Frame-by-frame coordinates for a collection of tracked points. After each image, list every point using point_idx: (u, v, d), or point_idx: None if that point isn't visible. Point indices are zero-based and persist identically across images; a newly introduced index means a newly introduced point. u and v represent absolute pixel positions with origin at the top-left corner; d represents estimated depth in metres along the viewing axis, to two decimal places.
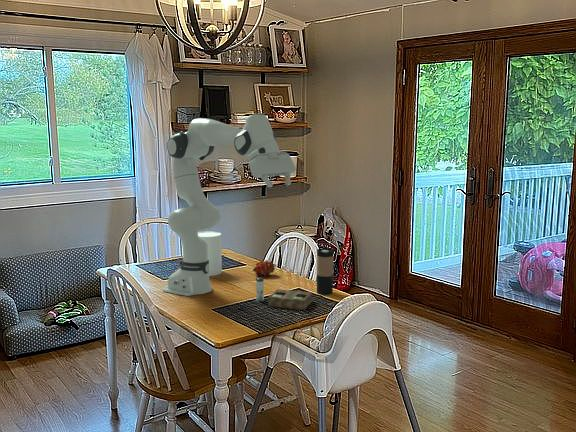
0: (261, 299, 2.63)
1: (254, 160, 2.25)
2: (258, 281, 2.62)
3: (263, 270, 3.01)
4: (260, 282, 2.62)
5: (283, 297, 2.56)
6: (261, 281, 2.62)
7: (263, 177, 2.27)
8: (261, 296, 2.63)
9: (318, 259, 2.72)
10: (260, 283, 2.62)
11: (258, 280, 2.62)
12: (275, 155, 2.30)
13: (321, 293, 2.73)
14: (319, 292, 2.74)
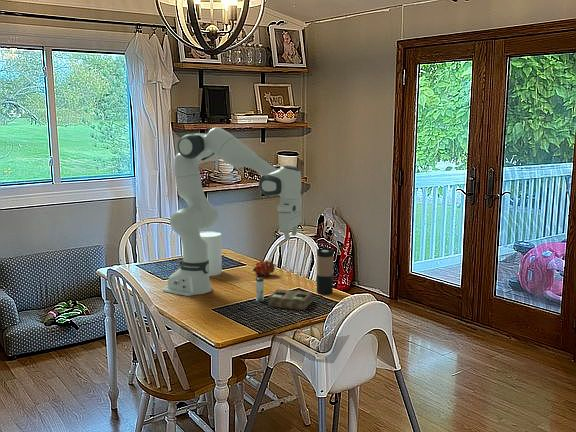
0: (261, 299, 2.63)
1: (286, 216, 2.44)
2: (258, 281, 2.62)
3: (263, 270, 3.01)
4: (260, 282, 2.62)
5: (283, 297, 2.56)
6: (261, 281, 2.62)
7: (285, 231, 2.49)
8: (261, 296, 2.63)
9: (318, 259, 2.72)
10: (260, 283, 2.62)
11: (258, 280, 2.62)
12: (298, 211, 2.53)
13: (321, 293, 2.73)
14: (319, 292, 2.74)
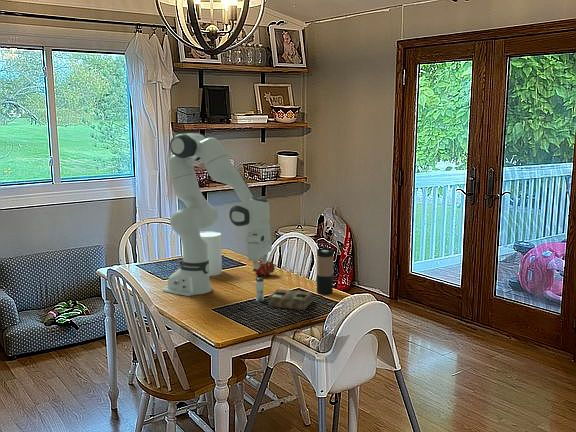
0: (261, 299, 2.63)
1: (255, 247, 2.51)
2: (258, 281, 2.62)
3: (263, 270, 3.01)
4: (260, 282, 2.62)
5: (283, 297, 2.56)
6: (261, 281, 2.62)
7: (254, 260, 2.55)
8: (261, 296, 2.63)
9: (318, 259, 2.72)
10: (260, 283, 2.62)
11: (258, 280, 2.62)
12: (267, 241, 2.59)
13: (321, 293, 2.73)
14: (319, 292, 2.74)
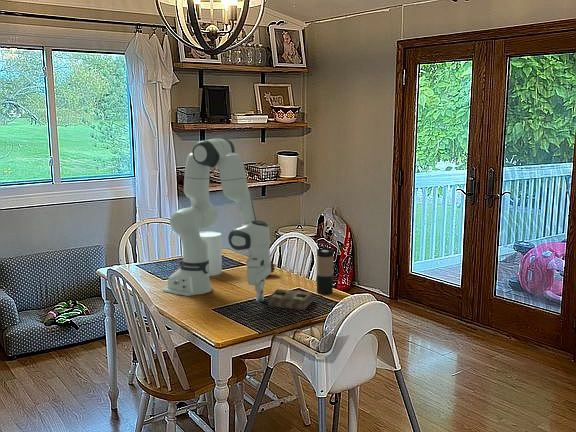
0: (261, 299, 2.63)
1: (254, 271, 2.53)
2: None
3: None
4: (260, 282, 2.62)
5: (283, 297, 2.56)
6: (261, 281, 2.62)
7: None
8: (261, 296, 2.63)
9: (318, 259, 2.72)
10: (260, 283, 2.62)
11: None
12: (266, 264, 2.61)
13: (321, 293, 2.73)
14: (319, 292, 2.74)
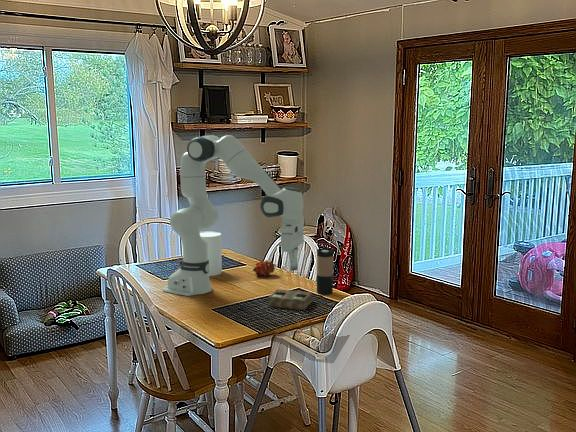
0: (295, 268, 2.56)
1: (289, 237, 2.46)
2: None
3: (263, 270, 3.01)
4: (294, 250, 2.55)
5: (283, 297, 2.56)
6: (295, 249, 2.55)
7: None
8: (295, 265, 2.56)
9: (318, 259, 2.72)
10: (294, 251, 2.55)
11: None
12: (300, 232, 2.54)
13: (321, 293, 2.73)
14: (319, 292, 2.74)
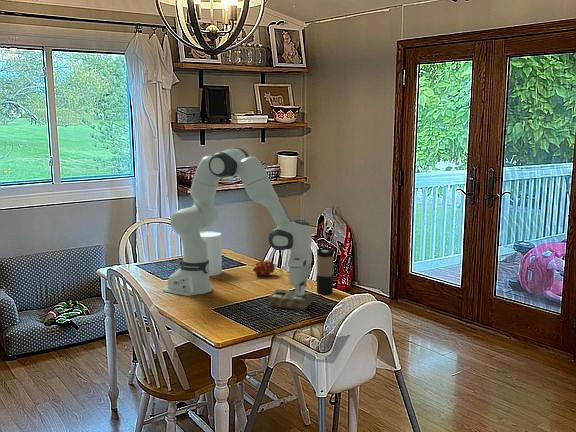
0: None
1: (297, 272, 2.47)
2: None
3: (263, 270, 3.01)
4: (301, 286, 2.56)
5: (283, 297, 2.56)
6: (302, 285, 2.56)
7: None
8: None
9: (318, 259, 2.72)
10: (301, 287, 2.56)
11: None
12: (308, 265, 2.55)
13: (321, 293, 2.73)
14: (319, 292, 2.74)
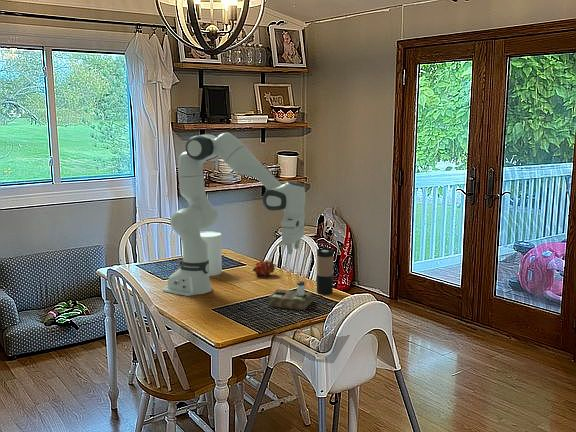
0: None
1: (289, 231, 2.49)
2: (299, 285, 2.56)
3: (263, 270, 3.01)
4: (301, 286, 2.56)
5: (283, 297, 2.56)
6: (302, 285, 2.56)
7: (288, 245, 2.54)
8: None
9: (318, 259, 2.72)
10: (301, 287, 2.56)
11: (299, 284, 2.56)
12: (301, 226, 2.58)
13: (321, 293, 2.73)
14: (319, 292, 2.74)
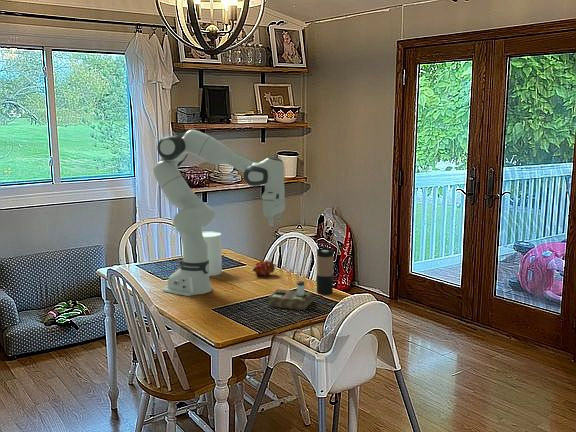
0: None
1: (270, 204, 2.64)
2: (299, 285, 2.56)
3: (263, 270, 3.01)
4: (301, 286, 2.56)
5: (283, 297, 2.56)
6: (302, 285, 2.56)
7: (269, 217, 2.68)
8: None
9: (318, 259, 2.72)
10: (301, 287, 2.56)
11: (299, 284, 2.56)
12: (281, 199, 2.72)
13: (321, 293, 2.73)
14: (319, 292, 2.74)
